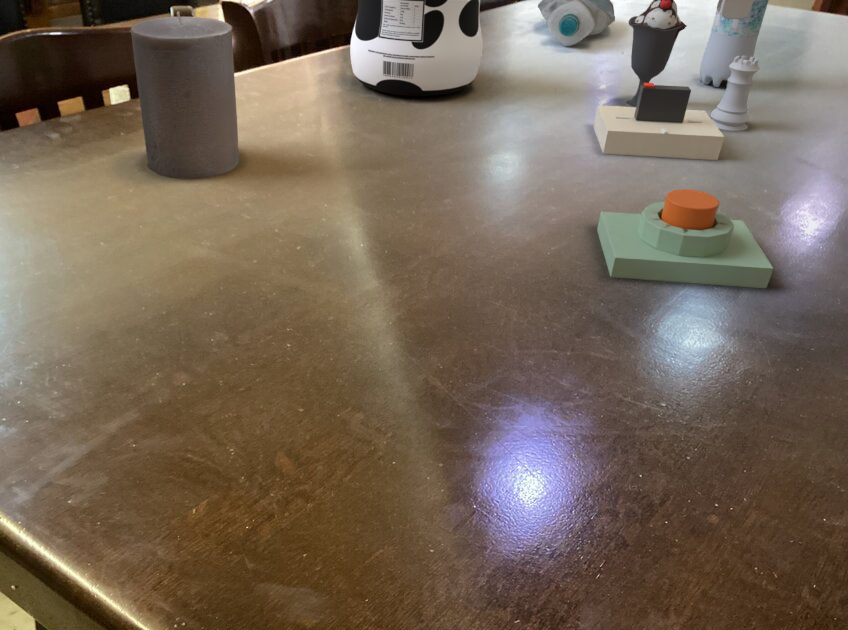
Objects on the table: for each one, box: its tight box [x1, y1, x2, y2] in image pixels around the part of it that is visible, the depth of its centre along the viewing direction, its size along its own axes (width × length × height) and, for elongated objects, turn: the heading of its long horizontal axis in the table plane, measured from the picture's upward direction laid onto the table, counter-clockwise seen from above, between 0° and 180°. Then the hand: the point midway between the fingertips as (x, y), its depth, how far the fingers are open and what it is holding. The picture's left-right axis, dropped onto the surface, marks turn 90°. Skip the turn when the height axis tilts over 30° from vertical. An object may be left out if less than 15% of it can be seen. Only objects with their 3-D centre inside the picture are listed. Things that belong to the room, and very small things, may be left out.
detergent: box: [537, 0, 616, 47], centre depth 134 cm, size 13×7×25 cm
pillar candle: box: [130, 10, 240, 180], centre depth 81 cm, size 10×10×15 cm
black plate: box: [634, 82, 692, 123], centre depth 89 cm, size 5×1×4 cm, turn 82°
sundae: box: [624, 0, 688, 107], centre depth 99 cm, size 7×7×15 cm
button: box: [661, 188, 720, 230], centre depth 66 cm, size 4×4×2 cm
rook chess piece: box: [710, 56, 761, 132], centre depth 95 cm, size 4×4×8 cm
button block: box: [596, 200, 774, 289], centre depth 67 cm, size 12×9×4 cm
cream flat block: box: [593, 104, 725, 161], centre depth 91 cm, size 12×9×3 cm
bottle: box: [699, 0, 769, 88], centre depth 107 cm, size 7×7×20 cm
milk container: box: [349, 0, 484, 97], centre depth 105 cm, size 17×17×18 cm
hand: (714, 2), depth 58 cm, fingers open, 8 cm apart
